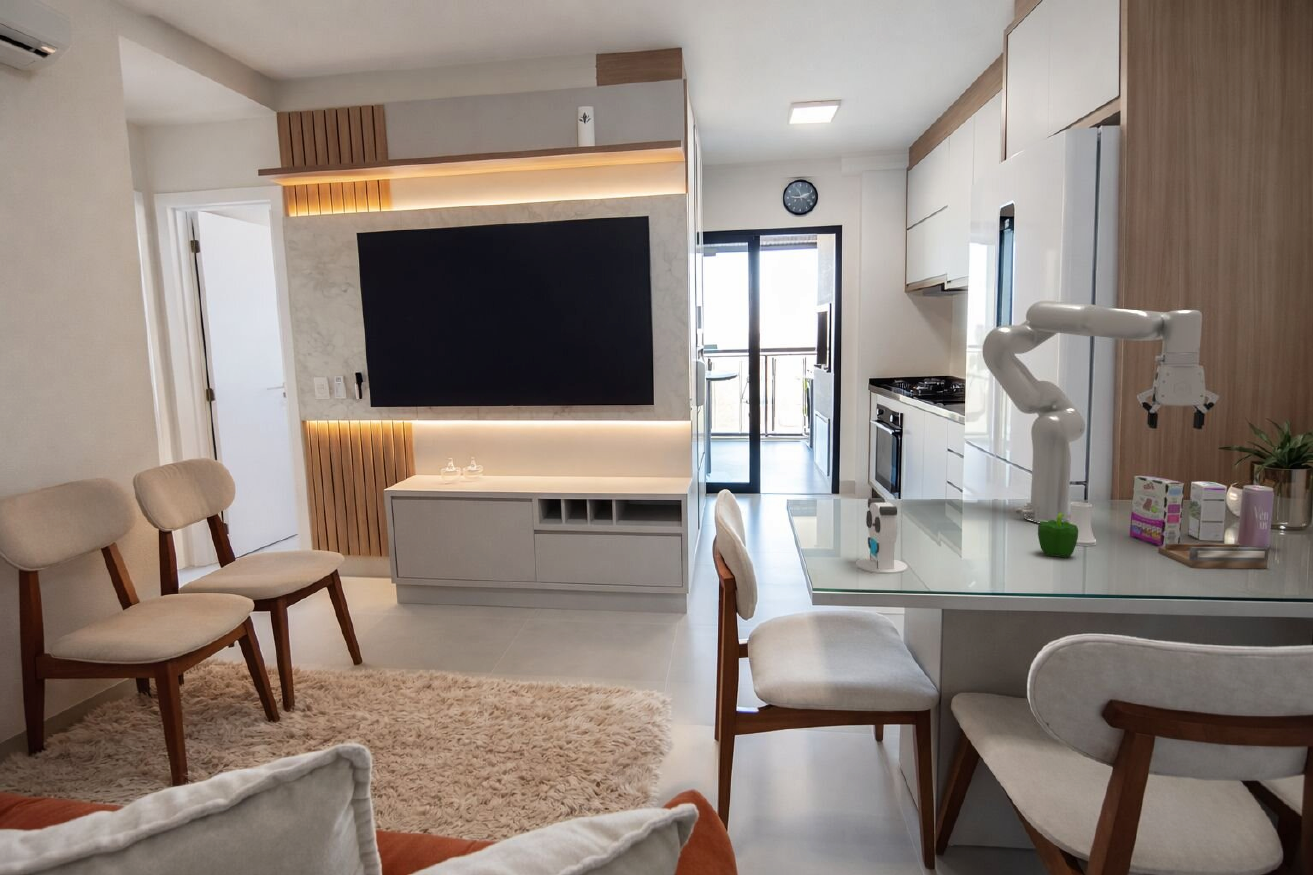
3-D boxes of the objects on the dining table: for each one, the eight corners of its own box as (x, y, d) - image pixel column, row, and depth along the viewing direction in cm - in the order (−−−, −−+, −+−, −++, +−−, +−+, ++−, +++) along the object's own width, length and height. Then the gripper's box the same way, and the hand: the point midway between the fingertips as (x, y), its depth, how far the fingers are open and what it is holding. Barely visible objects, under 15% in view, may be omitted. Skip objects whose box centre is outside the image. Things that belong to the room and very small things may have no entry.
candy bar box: (1181, 547, 174) (1186, 482, 172) (1162, 548, 174) (1167, 483, 172) (1146, 535, 185) (1150, 474, 183) (1128, 536, 185) (1132, 475, 183)
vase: (1093, 540, 182) (1096, 502, 181) (1098, 547, 175) (1100, 508, 174) (1060, 537, 185) (1062, 500, 184) (1063, 544, 178) (1065, 505, 177)
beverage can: (1261, 544, 176) (1267, 485, 174) (1273, 550, 170) (1279, 490, 168) (1232, 542, 178) (1238, 484, 176) (1243, 548, 172) (1249, 489, 170)
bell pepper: (1062, 562, 164) (1065, 520, 162) (1030, 553, 171) (1032, 513, 170) (1084, 556, 167) (1087, 515, 166) (1051, 548, 175) (1054, 509, 173)
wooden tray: (1192, 567, 158) (1194, 548, 157) (1158, 552, 170) (1159, 534, 170) (1268, 568, 157) (1269, 549, 156) (1227, 553, 169) (1229, 534, 168)
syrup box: (1224, 541, 179) (1229, 485, 177) (1198, 540, 180) (1202, 485, 178) (1211, 535, 185) (1216, 481, 183) (1186, 534, 186) (1190, 480, 184)
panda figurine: (850, 557, 169) (851, 496, 167) (897, 557, 168) (899, 496, 167) (863, 573, 157) (865, 508, 155) (914, 573, 156) (916, 507, 155)
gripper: (1145, 360, 173) (1141, 429, 175) (1228, 360, 169) (1222, 430, 171) (1134, 360, 181) (1130, 426, 183) (1213, 359, 176) (1208, 427, 178)
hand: (1174, 428), depth 177 cm, fingers open, 9 cm apart
